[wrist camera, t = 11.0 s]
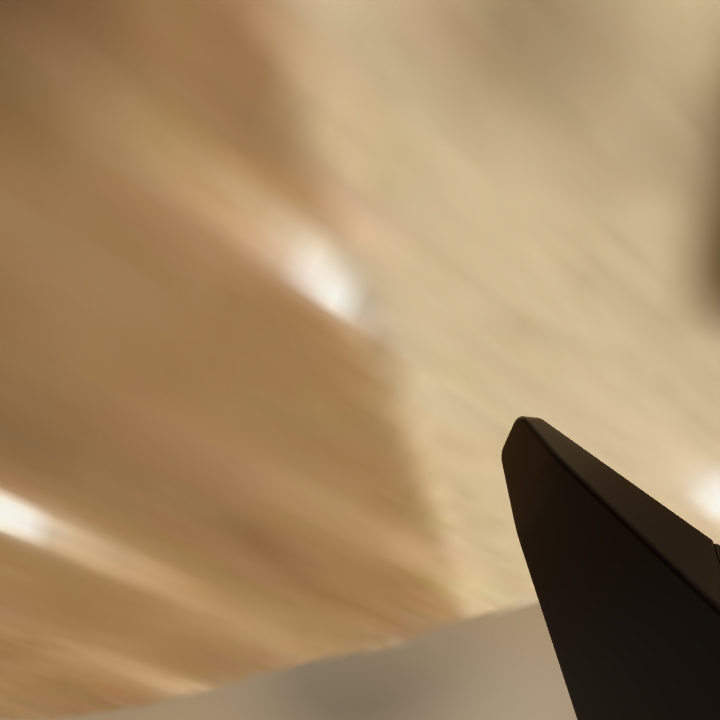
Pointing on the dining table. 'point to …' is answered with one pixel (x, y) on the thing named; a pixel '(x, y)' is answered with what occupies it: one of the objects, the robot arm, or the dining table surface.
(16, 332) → the dining table surface
